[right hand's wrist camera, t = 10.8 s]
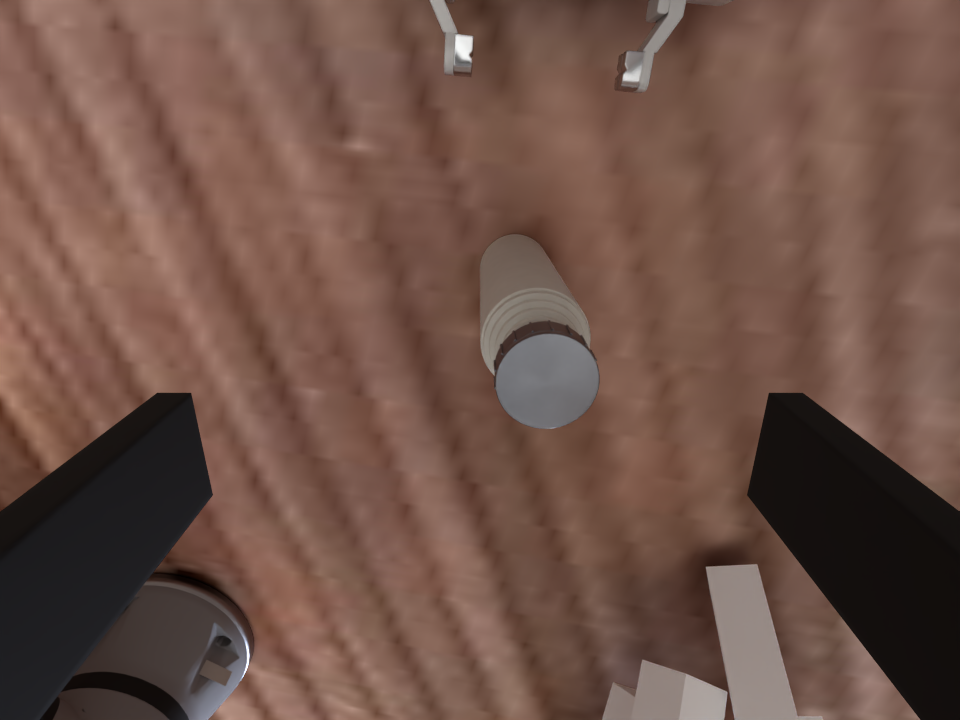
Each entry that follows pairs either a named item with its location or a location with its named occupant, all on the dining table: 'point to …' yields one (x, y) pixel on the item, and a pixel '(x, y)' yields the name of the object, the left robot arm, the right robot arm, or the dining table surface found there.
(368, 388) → the dining table surface
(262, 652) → the dining table surface
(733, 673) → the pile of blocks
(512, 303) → the bottle
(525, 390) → the cap
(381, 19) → the dining table surface
